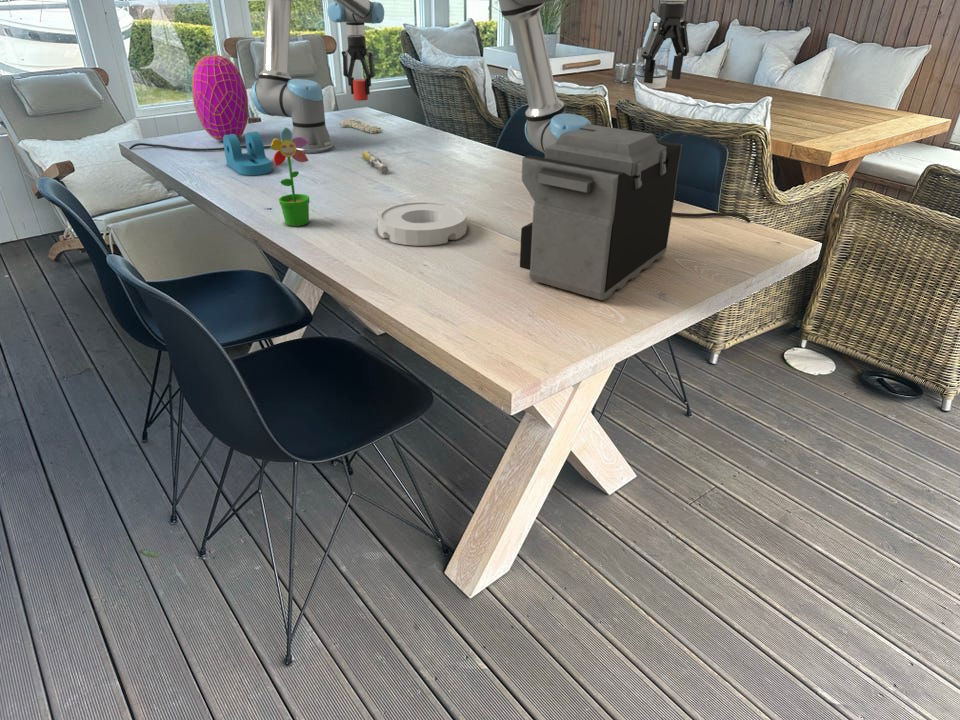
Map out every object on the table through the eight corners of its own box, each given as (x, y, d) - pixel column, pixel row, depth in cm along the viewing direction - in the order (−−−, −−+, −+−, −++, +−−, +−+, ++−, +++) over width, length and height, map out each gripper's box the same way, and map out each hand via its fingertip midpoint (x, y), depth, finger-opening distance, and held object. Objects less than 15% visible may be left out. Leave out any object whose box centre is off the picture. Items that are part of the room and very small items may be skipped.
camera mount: (227, 164, 233) (221, 132, 227) (257, 160, 238) (252, 129, 233) (244, 176, 220) (239, 143, 215) (276, 172, 225) (271, 139, 220)
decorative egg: (239, 132, 274) (226, 50, 259) (262, 141, 262) (250, 56, 247) (192, 139, 263) (176, 54, 248) (214, 149, 251) (198, 60, 236)
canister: (359, 97, 305) (358, 78, 301) (370, 99, 302) (369, 79, 298) (351, 99, 300) (349, 80, 296) (362, 101, 298) (360, 81, 294)
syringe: (360, 156, 244) (360, 148, 243) (371, 155, 246) (370, 147, 244) (377, 174, 224) (377, 166, 223) (389, 173, 226) (388, 165, 224)
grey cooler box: (589, 234, 178) (601, 114, 162) (670, 254, 167) (691, 126, 151) (511, 281, 152) (516, 142, 137) (601, 307, 141) (617, 160, 126)
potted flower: (284, 229, 179) (270, 130, 166) (277, 220, 185) (263, 124, 172) (319, 224, 183) (308, 127, 170) (311, 215, 188) (300, 121, 176)
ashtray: (385, 214, 190) (384, 200, 188) (468, 216, 189) (468, 202, 187) (371, 244, 170) (369, 229, 168) (464, 246, 170) (464, 231, 167)
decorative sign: (331, 121, 290) (351, 118, 296) (331, 123, 291) (352, 120, 296) (366, 132, 273) (387, 128, 279) (366, 134, 274) (387, 131, 280)
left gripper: (380, 35, 290) (384, 93, 302) (337, 34, 293) (342, 91, 304) (375, 37, 284) (379, 96, 295) (331, 36, 286) (336, 94, 298)
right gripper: (687, 0, 208) (676, 75, 219) (635, 3, 195) (626, 83, 205) (708, 2, 204) (696, 78, 214) (656, 4, 190) (646, 86, 200)
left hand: (360, 93), depth 300 cm, fingers closed on canister, 6 cm apart
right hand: (661, 81), depth 210 cm, fingers open, 13 cm apart
